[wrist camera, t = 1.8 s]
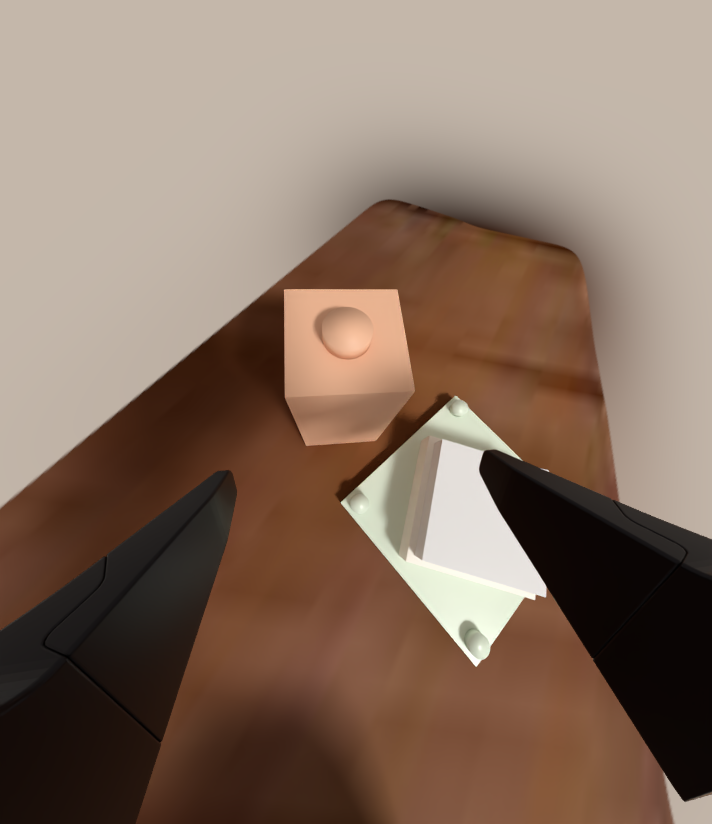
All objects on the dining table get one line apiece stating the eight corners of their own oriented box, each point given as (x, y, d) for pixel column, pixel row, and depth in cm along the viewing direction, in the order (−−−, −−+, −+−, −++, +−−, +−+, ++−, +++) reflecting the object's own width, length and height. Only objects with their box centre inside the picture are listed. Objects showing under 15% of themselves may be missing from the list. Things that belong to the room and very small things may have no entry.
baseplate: (571, 516, 22) (587, 517, 21) (470, 659, 18) (482, 673, 17) (452, 398, 24) (459, 392, 23) (340, 502, 21) (341, 502, 19)
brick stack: (514, 589, 19) (553, 609, 16) (398, 555, 19) (412, 567, 16) (521, 470, 22) (555, 466, 19) (421, 440, 22) (437, 430, 19)
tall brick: (375, 440, 22) (420, 384, 11) (306, 445, 22) (281, 390, 11) (368, 378, 24) (401, 277, 13) (304, 381, 24) (281, 276, 12)
